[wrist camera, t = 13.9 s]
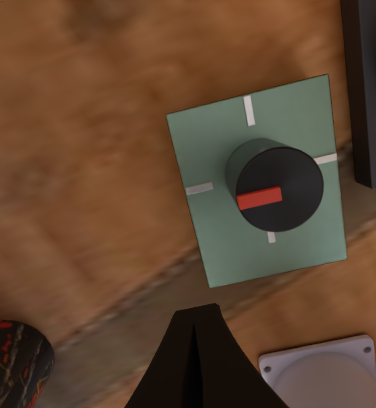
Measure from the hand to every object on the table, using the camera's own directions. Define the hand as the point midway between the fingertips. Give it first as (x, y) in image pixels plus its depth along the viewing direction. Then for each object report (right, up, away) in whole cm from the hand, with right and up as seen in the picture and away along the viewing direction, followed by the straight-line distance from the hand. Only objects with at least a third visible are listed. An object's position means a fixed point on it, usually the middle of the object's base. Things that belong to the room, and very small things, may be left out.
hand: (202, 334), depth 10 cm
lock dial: (+3, +5, +7) cm, 9 cm away
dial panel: (+4, +5, +9) cm, 11 cm away
